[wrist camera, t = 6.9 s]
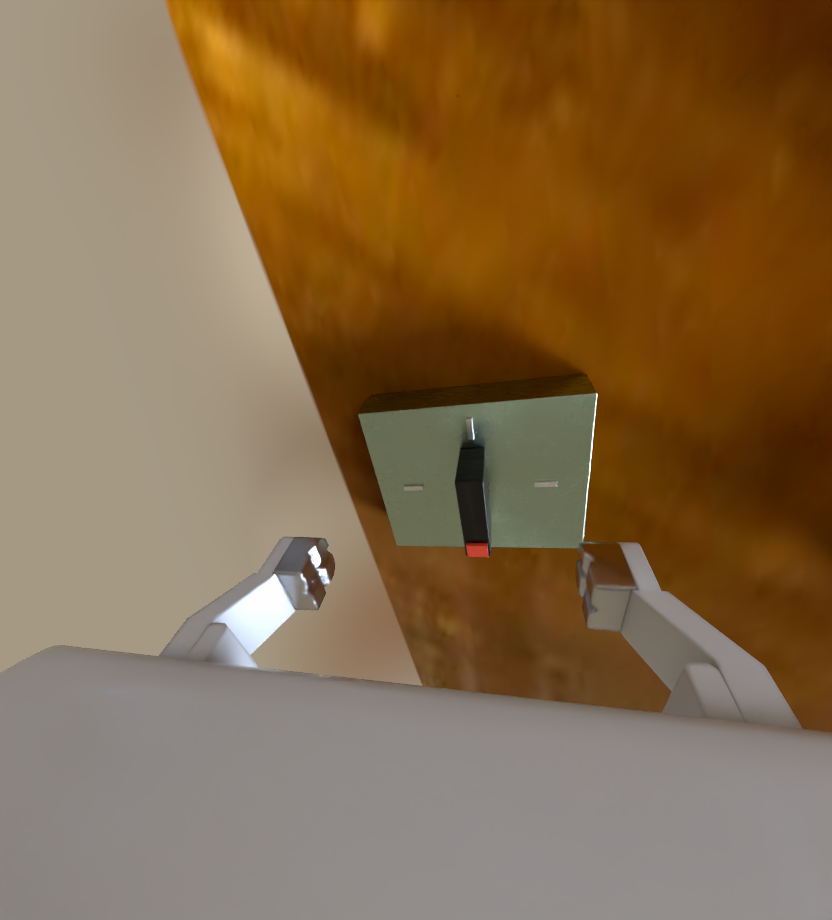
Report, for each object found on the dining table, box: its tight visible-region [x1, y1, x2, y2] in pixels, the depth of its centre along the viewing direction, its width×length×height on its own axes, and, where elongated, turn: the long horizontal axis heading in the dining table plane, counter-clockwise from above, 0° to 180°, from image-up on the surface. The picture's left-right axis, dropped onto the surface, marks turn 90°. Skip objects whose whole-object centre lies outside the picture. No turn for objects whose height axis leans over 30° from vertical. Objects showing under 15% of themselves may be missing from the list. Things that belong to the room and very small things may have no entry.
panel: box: [358, 374, 597, 548], centre depth 25 cm, size 14×12×3 cm
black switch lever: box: [455, 448, 492, 557], centre depth 23 cm, size 6×2×4 cm, turn 10°
